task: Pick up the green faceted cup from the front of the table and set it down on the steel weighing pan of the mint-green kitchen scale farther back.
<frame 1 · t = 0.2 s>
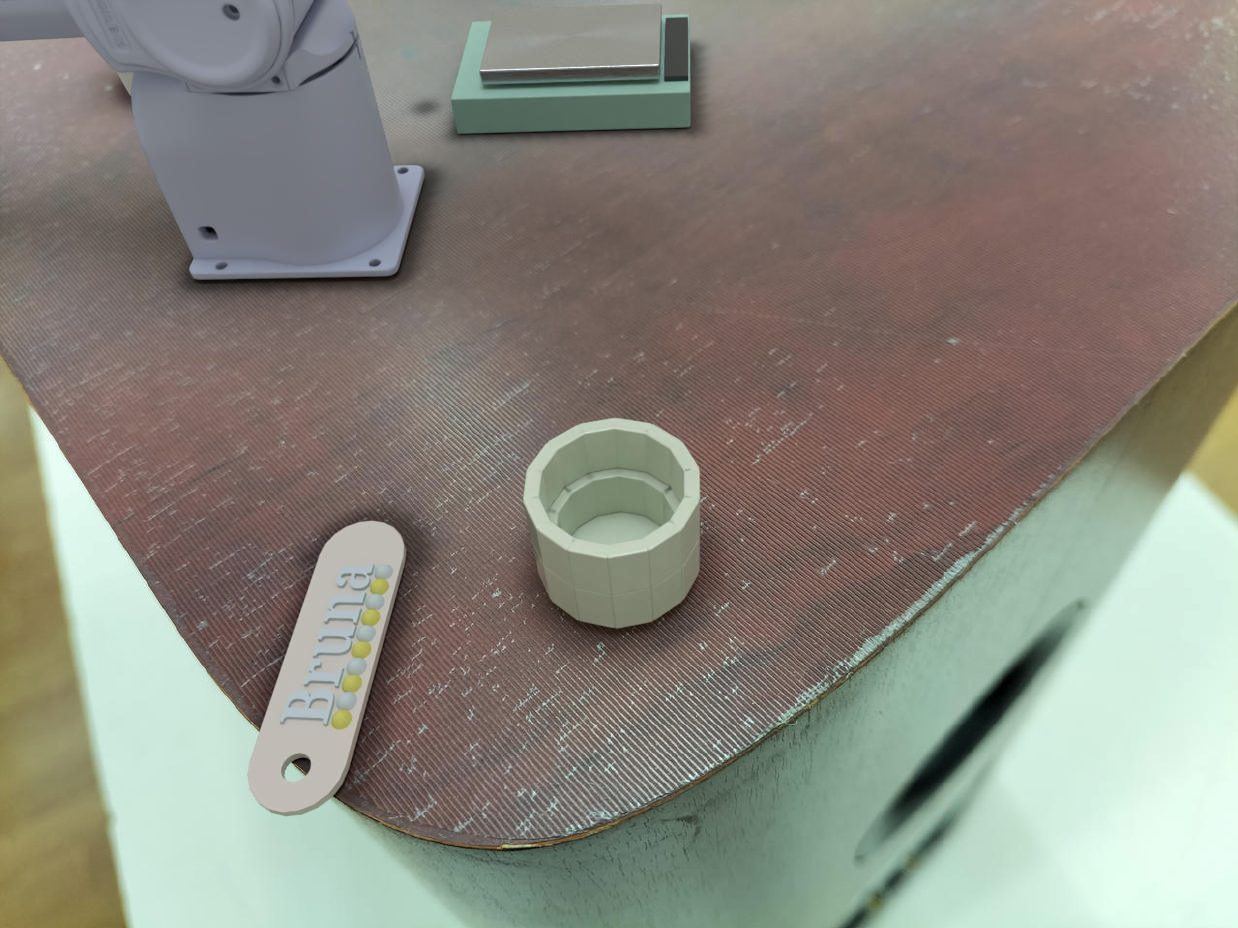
scale: (578, 89, 54), on the table
keychain: (382, 653, 32), on the table
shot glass: (180, 82, 58), on the table
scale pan: (573, 43, 52), point 3 cm above the table, slide at 0.0 cm
green faceted cup: (619, 566, 34), on the table
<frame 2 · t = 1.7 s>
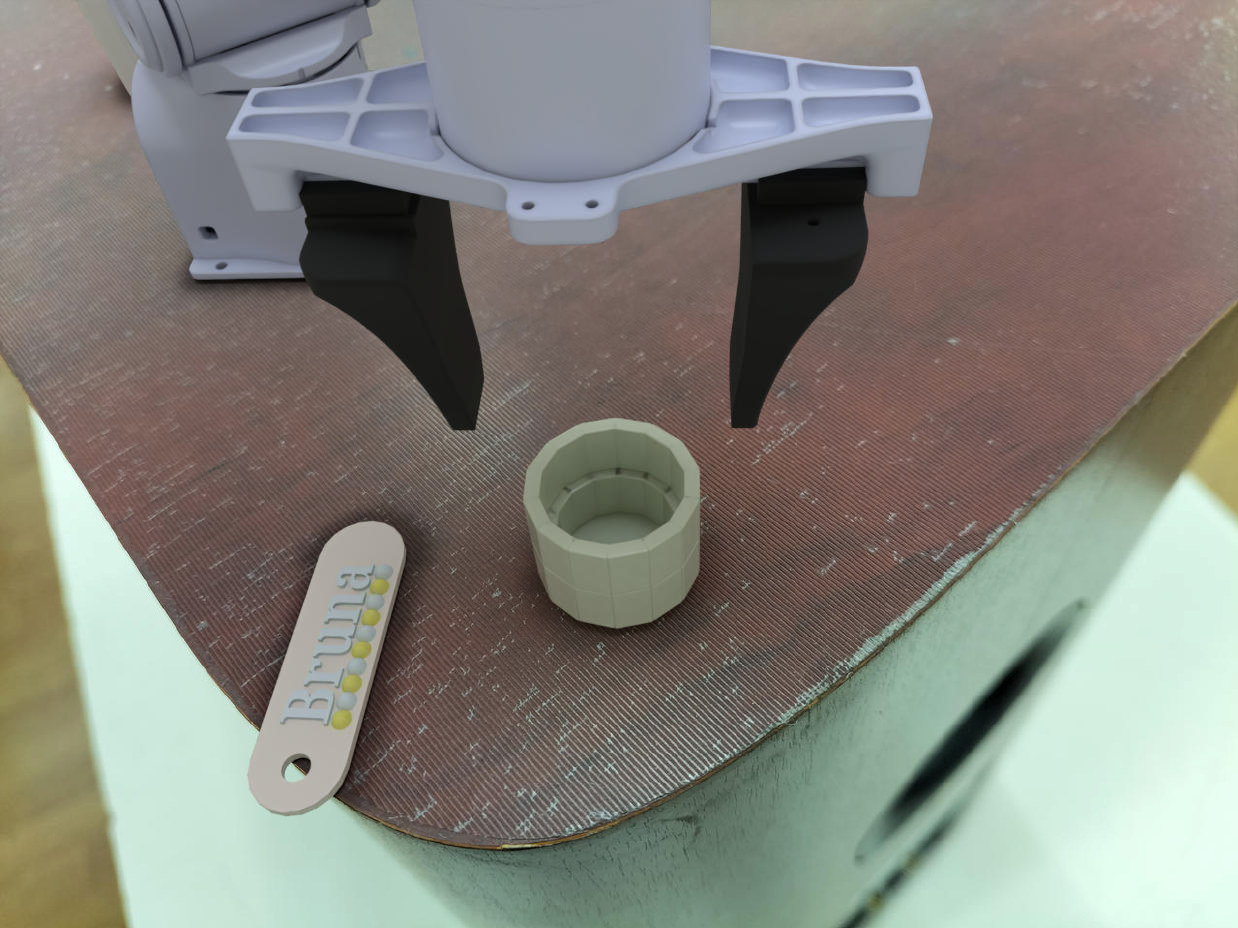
hand: (604, 403, 28), 8 cm above the table, tool pointing down, fingers open, 7 cm apart
nothing on the table moved.
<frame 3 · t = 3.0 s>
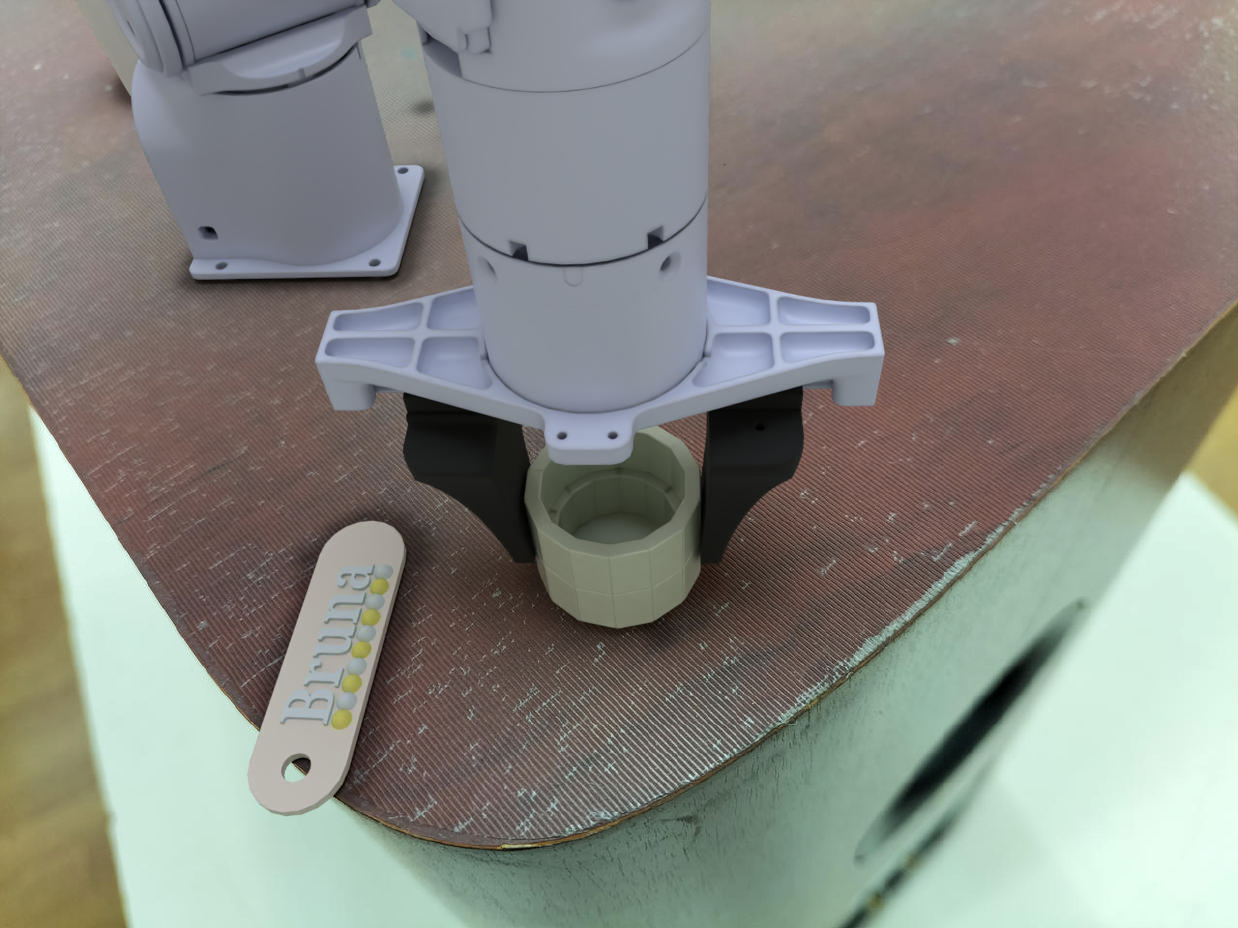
hand: (616, 538, 33), 2 cm above the table, tool pointing down, fingers closed on green faceted cup, 5 cm apart
green faceted cup: (620, 566, 34), on the table, touching gripper
everything else where it was.
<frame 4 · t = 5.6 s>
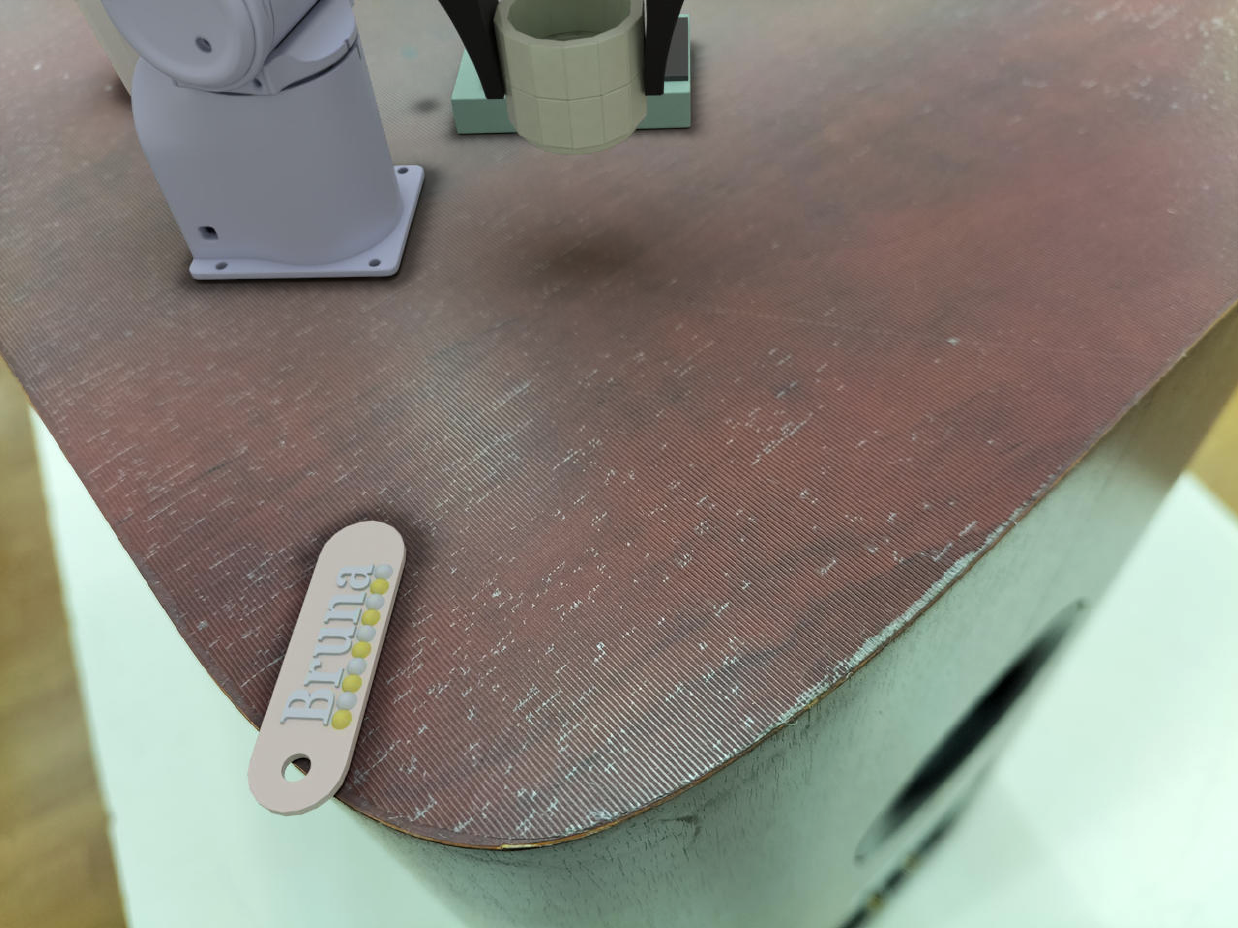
hand: (574, 84, 39), 8 cm above the table, tool pointing down, fingers closed on green faceted cup, 5 cm apart
green faceted cup: (579, 121, 40), point 7 cm above the table, touching gripper
everything else where it was.
when the fingers open (5 cm above the table, at t = 8.4 s): green faceted cup stays where it is, resting on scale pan.
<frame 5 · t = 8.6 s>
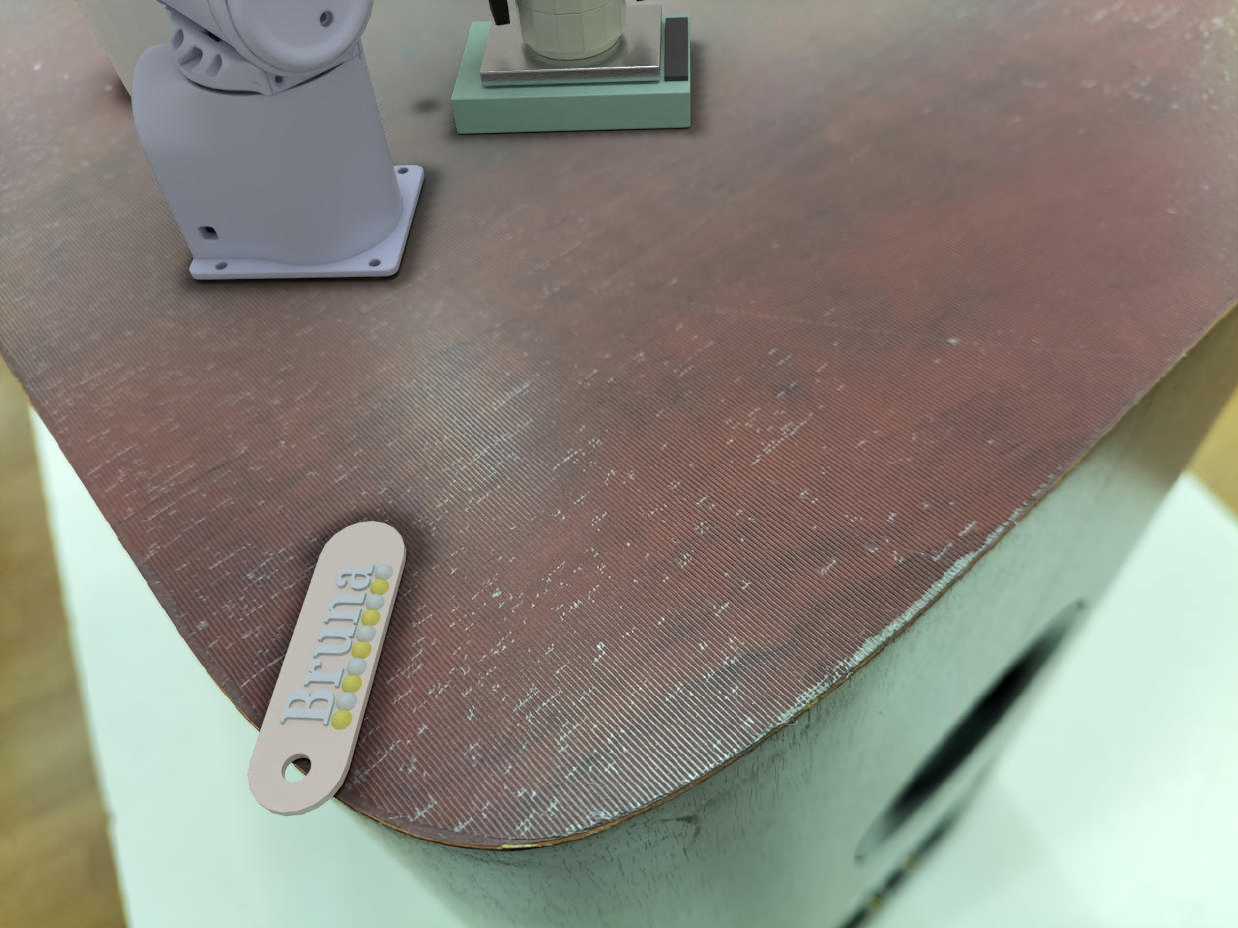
hand: (569, 4, 51), 5 cm above the table, tool pointing down, fingers open, 6 cm apart
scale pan: (573, 44, 52), point 3 cm above the table, slide at -0.1 cm, touching green faceted cup
green faceted cup: (573, 36, 52), point 3 cm above the table, touching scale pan
everything else where it was.
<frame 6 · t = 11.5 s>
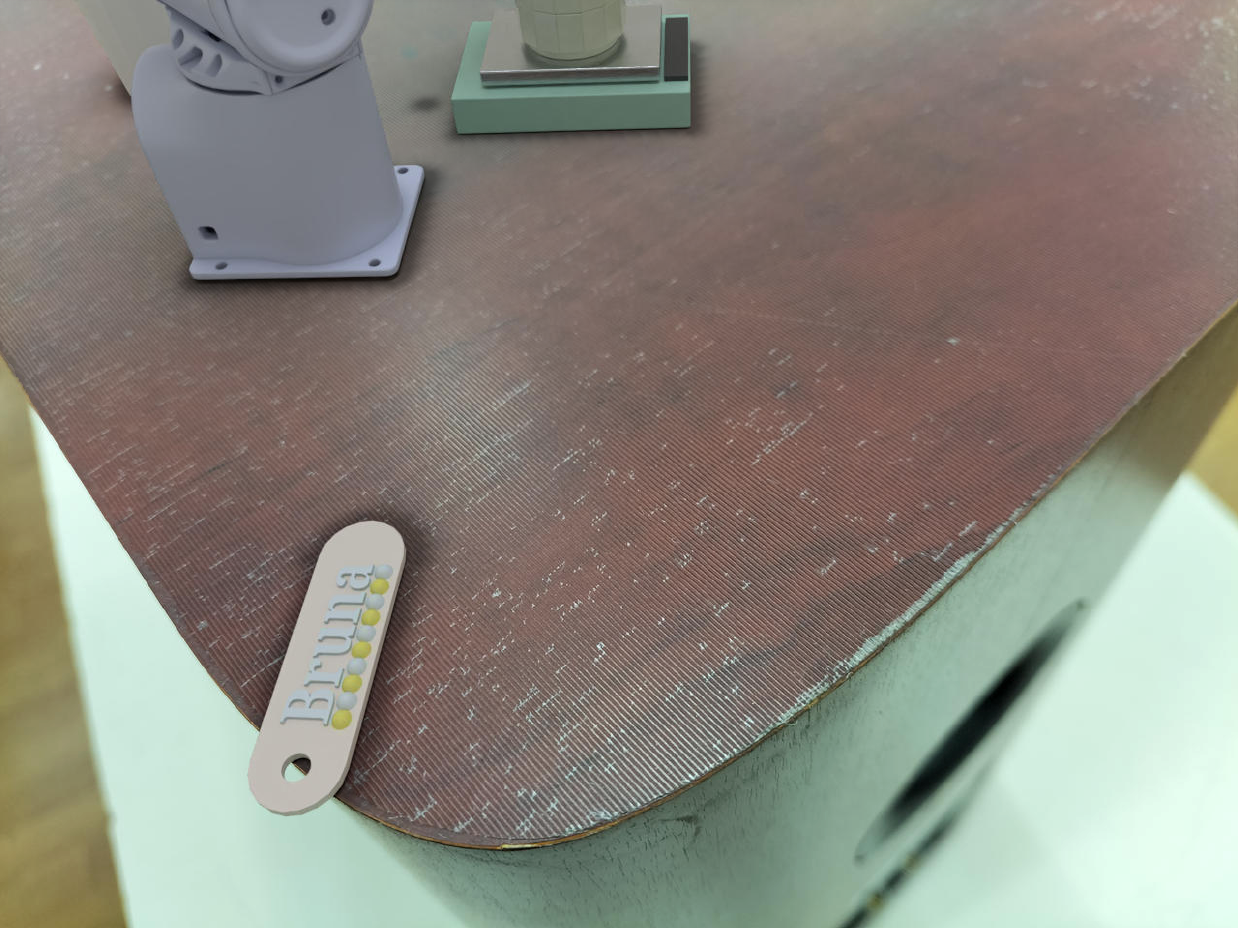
nothing on the table moved.
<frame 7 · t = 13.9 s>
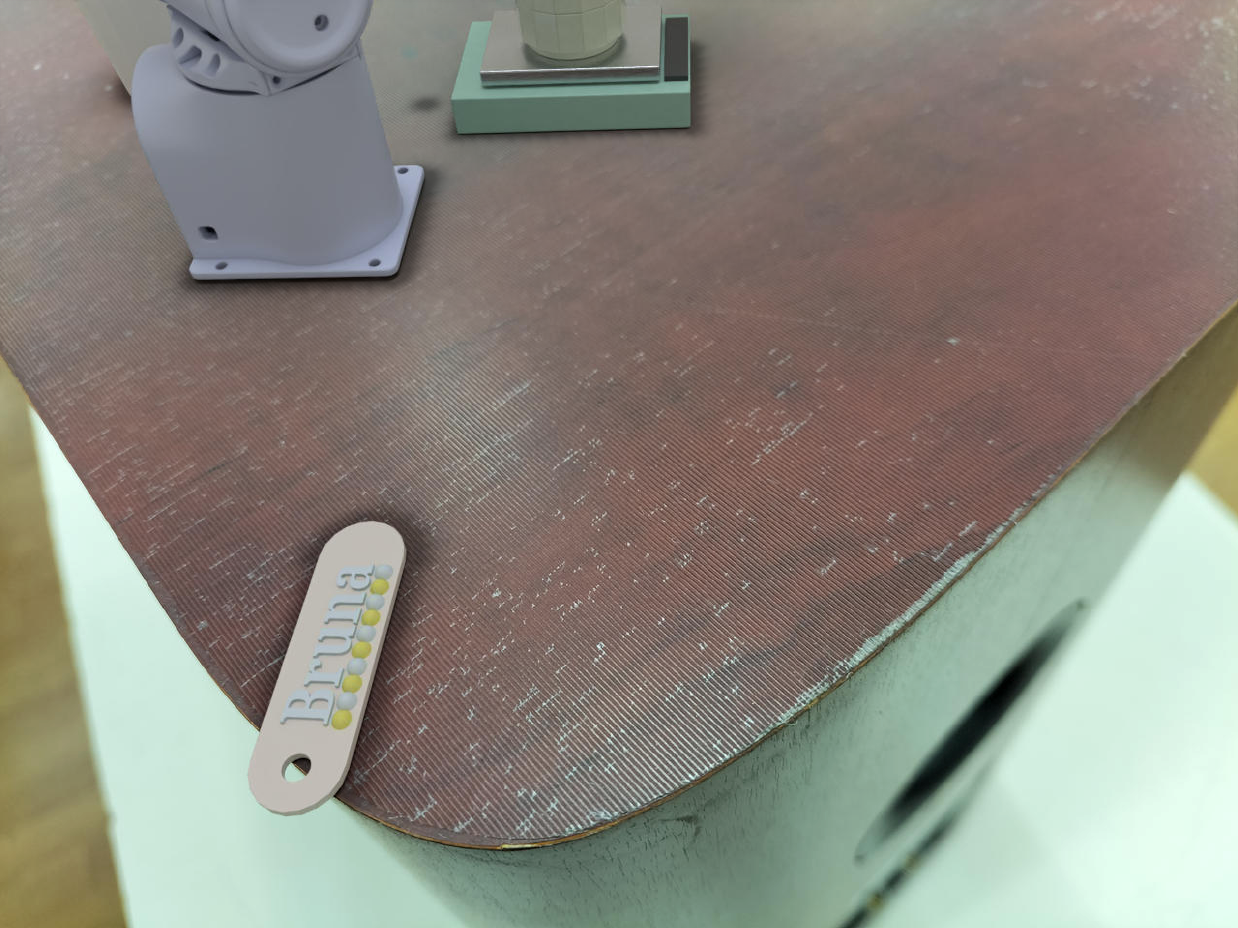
nothing on the table moved.
at the end: green faceted cup 0.0 cm off-centre on the scale, point 2.9 cm above the scale's base; green faceted cup tilted 0°; the gripper is holding nothing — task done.
